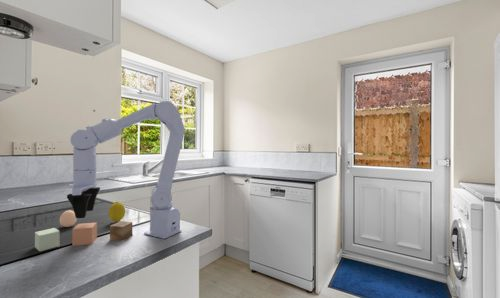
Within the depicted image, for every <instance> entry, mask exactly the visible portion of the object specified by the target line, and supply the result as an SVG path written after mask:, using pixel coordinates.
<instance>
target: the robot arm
mask: <svg viewBox="0 0 500 298" xmlns="http://www.w3.org/2000/svg"><path fill="white" fill-rule="evenodd" d="M156 118H157V120H158V121H160V122H161V124H164V126H165V127H166V128H167V130H168V131H169V133H170V134H169V138H168V142H167V144H166V148H165V153H164V156H163V161H162V164H161V169H160V172H159V176H158V179H157V183H156V185H155V186H154V188H153V189H152V191H151V197H150V198H151V199H150V201H151V204H150V205H149V230H147V231H144V233H143V234H144V235H147V236H151V237H155V238H159V239H164V240H165V239H167V238H170V237H171V236H174V235H176V234H177V233H180V232H182V229H181V213H180V211H179V209H178V208H175V207H174V204H173V202H172V199H173V195H172V188H173V181H174V177H175V176H174V175H175V172H176V168H177V164H178V160H179V156H180V152H181V148H182V144H183V140H184V136H185V132H186V128H185V126H184V125H185V124H184V122H183V120H182V117H181V115H180V110H179V108H177V107H176V106H175V104H174V103H173V102H172V101H169V100H162V101H160V102H158V103H153V104H150V105H147V106H145V107H143V108H140V109H138V110H135V111H134V112H132V113H130V114H128V115H125V116H123V117H121V118H118V119H115V118H108V119H107V118H102V119H101V122H98V123H96V124H94V125H91V126H90V125H87V126H86V127H85V128H86V129H77V130H76V131H75V132H73V133H72V135H71V136H70V144H71V145H72V146H73V155H72V162H73V163H72V164H73V165H72V167H73V168H72V171H73V173H72V174H73V175H72V177H73V179H72V181H73V183H70V184H68V188H72V189H71V193H68V194H67V195H66V198H67V201H69V202H70V204H71V206H72V211H73V212H74V213H75V217H76V218H77V219H84V218H86V215H87V212H92V211H94V207H95V203H96V199H97V196H98V194H99V192H100V191H101V187H99V186H98V183H97V154H96V148H97V146H98V144H103V143H105V142H107V141H110V140H112V139H113V138H116V137H119V136H120V135H122V132H123V129H126V128H129V127H131V126H133V125H137V124H139V123H141V122H144V121H146V120H148V121H157V120H156Z"/></svg>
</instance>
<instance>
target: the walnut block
mask: <svg viewBox="0 0 500 298" xmlns="http://www.w3.org/2000/svg"><path fill="white" fill-rule="evenodd" d="M132 236H133V221H122V220H119V222H115V223H112V224H111V225H110V226H109V241H116V242H117V241H119V242H120V241H121V242H123V241H125V240H127V239H129V238H131V237H132Z"/></svg>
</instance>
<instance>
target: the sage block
mask: <svg viewBox="0 0 500 298" xmlns="http://www.w3.org/2000/svg"><path fill="white" fill-rule="evenodd" d="M60 244H61V242H60V230H59V229H57V228H56V227H52V228H48V229H47V228H46V229H43V230H39V231H35V232H34V249H36V250H37V251H39V252H42V251H47V250H50V249H55V248H56V247H60Z"/></svg>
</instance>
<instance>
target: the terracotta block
mask: <svg viewBox="0 0 500 298" xmlns="http://www.w3.org/2000/svg"><path fill="white" fill-rule="evenodd" d="M71 230H72V241H71V243H72V245H71V246H72V247H74V246H75V247H76V246H85V245H93V243H94V242H95V241H96V240H97V238H98V222H86V223H85V222H83V223H77V225H75V226H74V227H73V228H72V229H71Z"/></svg>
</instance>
